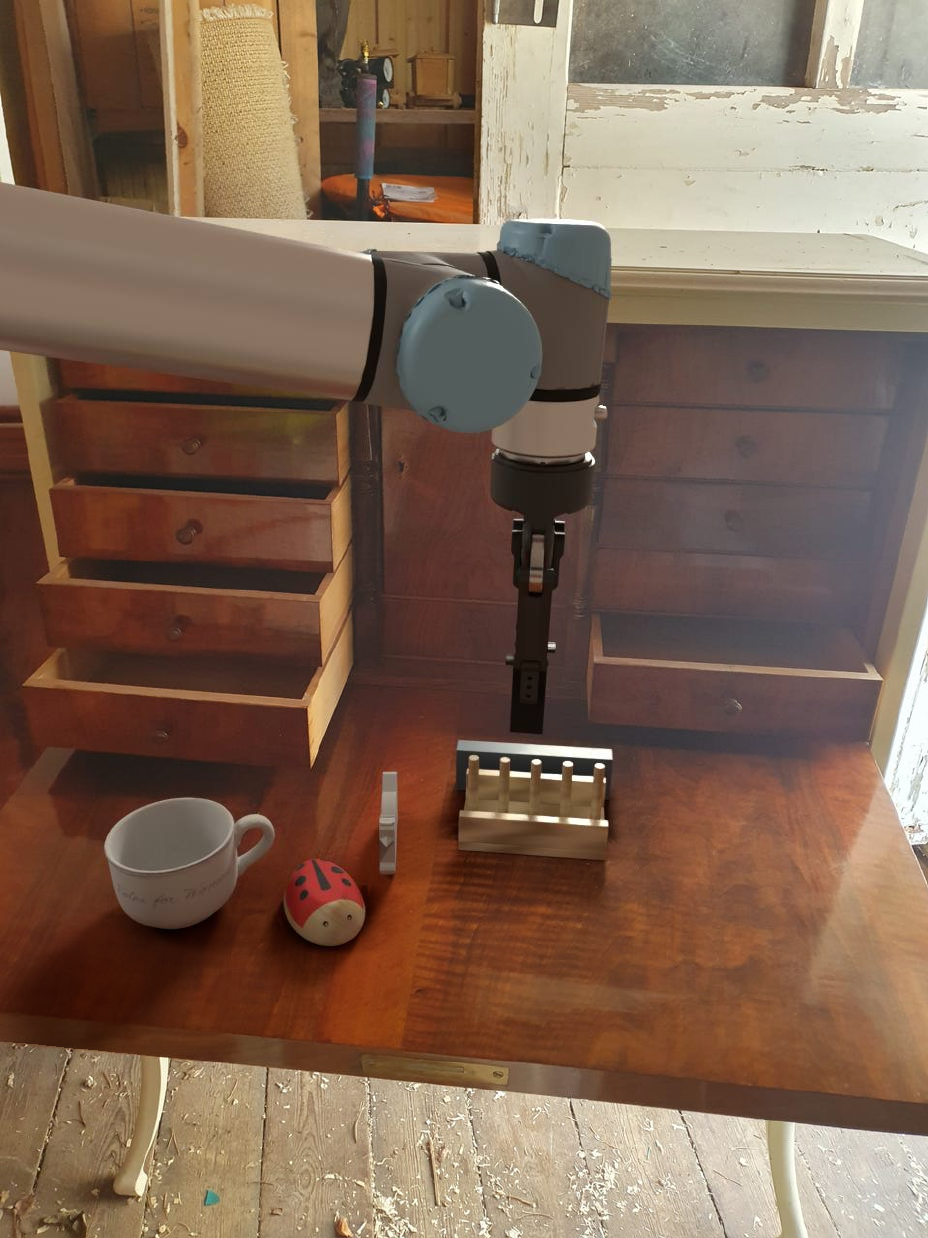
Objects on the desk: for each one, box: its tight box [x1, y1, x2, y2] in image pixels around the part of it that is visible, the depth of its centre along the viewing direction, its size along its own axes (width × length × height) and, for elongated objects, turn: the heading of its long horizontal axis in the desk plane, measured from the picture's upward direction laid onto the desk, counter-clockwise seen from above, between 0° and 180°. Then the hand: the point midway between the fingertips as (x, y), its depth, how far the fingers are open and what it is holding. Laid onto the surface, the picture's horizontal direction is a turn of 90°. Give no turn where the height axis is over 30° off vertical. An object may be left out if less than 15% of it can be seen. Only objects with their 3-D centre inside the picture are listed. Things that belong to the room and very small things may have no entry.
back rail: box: [455, 739, 614, 801], centre depth 100 cm, size 16×2×5 cm, turn 85°
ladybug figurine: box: [283, 858, 366, 947], centre depth 84 cm, size 7×10×4 cm
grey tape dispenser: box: [378, 771, 399, 875], centre depth 91 cm, size 6×1×10 cm
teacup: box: [103, 797, 276, 930], centre depth 84 cm, size 14×11×8 cm
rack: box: [458, 755, 610, 862], centre depth 94 cm, size 14×8×8 cm, turn 84°
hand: (526, 728), depth 80 cm, fingers closed
